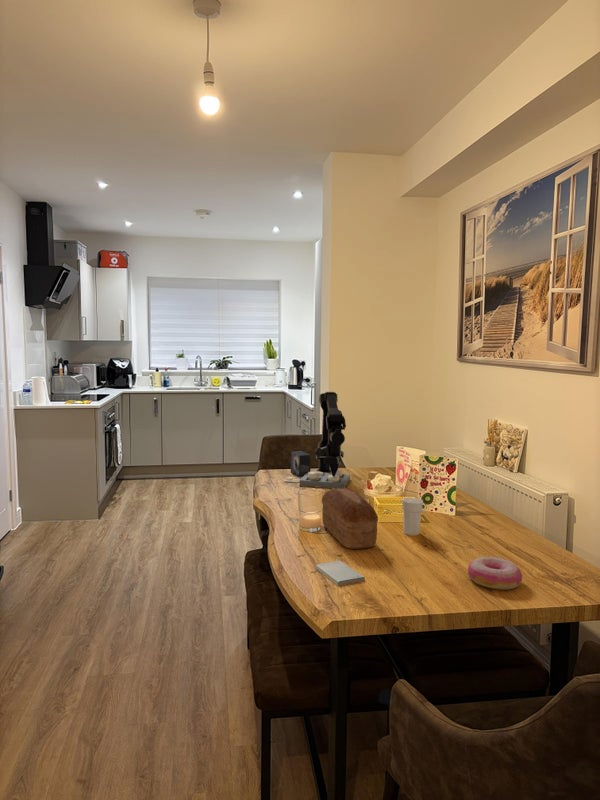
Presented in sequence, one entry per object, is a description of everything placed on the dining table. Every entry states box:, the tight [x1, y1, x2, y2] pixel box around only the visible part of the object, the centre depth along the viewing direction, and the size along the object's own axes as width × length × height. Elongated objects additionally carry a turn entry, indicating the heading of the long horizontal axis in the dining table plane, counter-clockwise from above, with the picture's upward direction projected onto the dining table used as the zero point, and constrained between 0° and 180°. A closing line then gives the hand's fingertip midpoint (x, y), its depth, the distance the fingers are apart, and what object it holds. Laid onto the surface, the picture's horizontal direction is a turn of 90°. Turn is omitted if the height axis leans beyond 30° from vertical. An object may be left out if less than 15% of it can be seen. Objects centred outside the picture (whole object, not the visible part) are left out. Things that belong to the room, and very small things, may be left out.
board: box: [283, 472, 351, 489], centre depth 251 cm, size 18×28×2 cm, turn 77°
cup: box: [401, 497, 424, 536], centre depth 181 cm, size 7×7×11 cm
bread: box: [321, 487, 379, 550], centre depth 177 cm, size 12×28×14 cm, turn 15°
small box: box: [290, 450, 311, 478], centre depth 266 cm, size 11×6×10 cm, turn 25°
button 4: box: [330, 468, 343, 478], centre depth 253 cm, size 5×5×3 cm
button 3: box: [328, 475, 339, 482], centre depth 244 cm, size 5×5×3 cm
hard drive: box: [314, 560, 366, 586], centre depth 147 cm, size 2×8×12 cm
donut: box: [467, 556, 523, 591], centre depth 144 cm, size 14×13×5 cm
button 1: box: [308, 471, 320, 481], centre depth 246 cm, size 5×5×3 cm
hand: (333, 476), depth 244 cm, fingers closed, pressing on button 3
